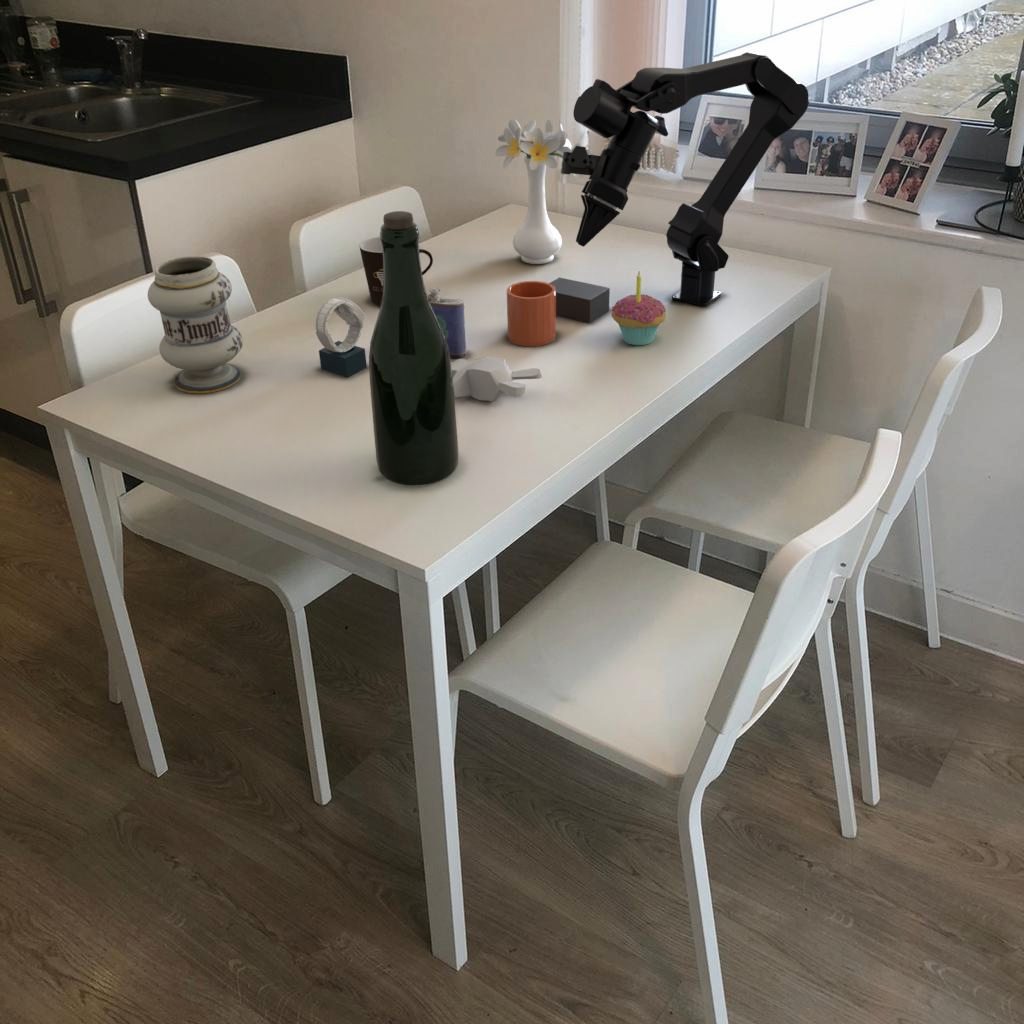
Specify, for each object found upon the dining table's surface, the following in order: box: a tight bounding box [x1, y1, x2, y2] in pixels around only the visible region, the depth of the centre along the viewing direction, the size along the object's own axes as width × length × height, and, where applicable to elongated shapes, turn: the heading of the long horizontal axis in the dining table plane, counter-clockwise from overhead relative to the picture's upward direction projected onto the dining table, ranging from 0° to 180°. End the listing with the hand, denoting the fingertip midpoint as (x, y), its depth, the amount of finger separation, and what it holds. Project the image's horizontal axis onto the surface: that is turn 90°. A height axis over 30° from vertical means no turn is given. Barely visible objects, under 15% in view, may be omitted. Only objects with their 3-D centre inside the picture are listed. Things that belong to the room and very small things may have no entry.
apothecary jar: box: [147, 255, 244, 395], centre depth 158 cm, size 12×12×18 cm
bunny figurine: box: [451, 356, 543, 402], centre depth 155 cm, size 10×5×15 cm
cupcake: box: [611, 271, 667, 346], centre depth 168 cm, size 9×8×12 cm
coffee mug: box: [358, 236, 434, 307], centre depth 185 cm, size 12×9×10 cm
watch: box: [315, 296, 368, 378], centre depth 162 cm, size 6×8×11 cm
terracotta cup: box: [506, 280, 557, 347], centre depth 171 cm, size 8×8×8 cm
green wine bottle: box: [368, 210, 459, 487], centre depth 129 cm, size 10×10×33 cm
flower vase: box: [495, 118, 591, 265], centre depth 198 cm, size 13×18×25 cm
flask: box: [427, 286, 467, 359], centre depth 166 cm, size 9×3×11 cm, turn 68°
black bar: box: [548, 276, 611, 324], centre depth 181 cm, size 6×10×4 cm, turn 55°
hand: (579, 244), depth 170 cm, fingers open, 9 cm apart
